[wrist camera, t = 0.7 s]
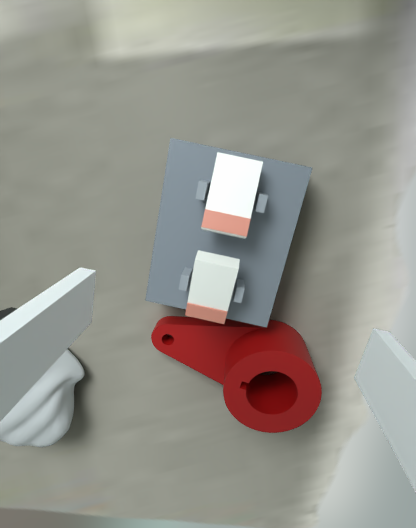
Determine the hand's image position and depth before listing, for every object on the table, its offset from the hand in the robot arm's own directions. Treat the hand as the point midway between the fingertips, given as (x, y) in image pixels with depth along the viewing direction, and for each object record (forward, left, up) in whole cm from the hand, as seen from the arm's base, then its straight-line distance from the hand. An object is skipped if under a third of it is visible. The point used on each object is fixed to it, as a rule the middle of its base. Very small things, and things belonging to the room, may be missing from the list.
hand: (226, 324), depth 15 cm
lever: (+13, +3, -20) cm, 24 cm away
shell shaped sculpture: (+23, -19, -20) cm, 36 cm away
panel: (-1, -1, -20) cm, 20 cm away
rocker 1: (-5, -1, -13) cm, 14 cm away
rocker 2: (+3, -1, -13) cm, 13 cm away
